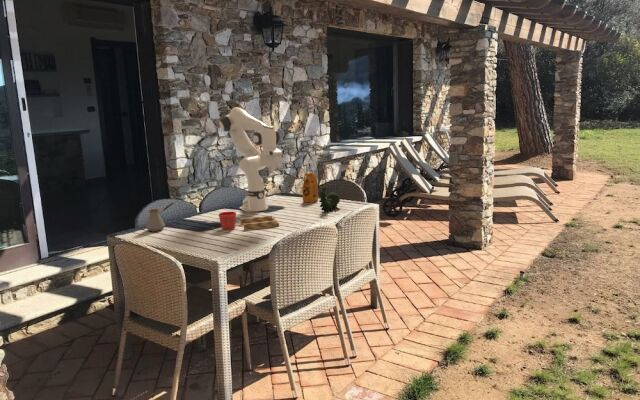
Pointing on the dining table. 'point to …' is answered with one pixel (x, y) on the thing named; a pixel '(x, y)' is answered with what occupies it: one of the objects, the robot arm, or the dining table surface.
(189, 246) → the dining table surface
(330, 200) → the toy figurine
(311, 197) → the coffee package
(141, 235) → the dining table surface
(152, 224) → the coffee pot
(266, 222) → the brown wooden u-shaped frame
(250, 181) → the robot arm
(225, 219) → the flower pot
